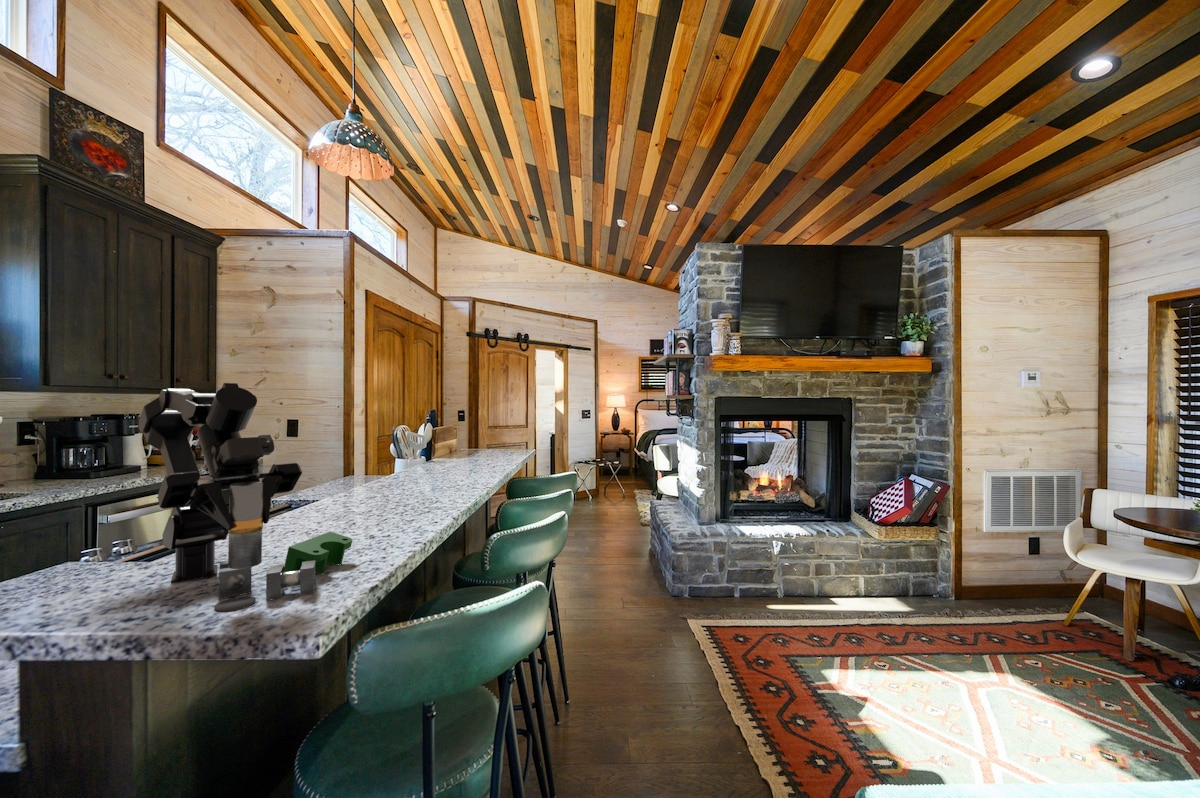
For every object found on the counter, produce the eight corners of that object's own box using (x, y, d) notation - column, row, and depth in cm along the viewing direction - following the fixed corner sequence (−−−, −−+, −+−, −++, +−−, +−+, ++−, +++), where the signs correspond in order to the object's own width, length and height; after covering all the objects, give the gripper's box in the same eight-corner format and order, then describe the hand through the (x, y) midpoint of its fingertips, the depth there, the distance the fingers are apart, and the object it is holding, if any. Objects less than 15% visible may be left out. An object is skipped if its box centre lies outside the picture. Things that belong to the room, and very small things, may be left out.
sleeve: (229, 561, 80) (231, 482, 80) (263, 557, 82) (265, 480, 82) (225, 570, 76) (226, 487, 76) (261, 566, 78) (262, 485, 78)
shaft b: (266, 600, 81) (266, 573, 81) (270, 591, 85) (270, 565, 85) (313, 593, 84) (313, 567, 84) (315, 584, 88) (315, 560, 88)
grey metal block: (219, 586, 87) (219, 561, 87) (250, 581, 90) (250, 557, 90) (218, 599, 81) (219, 572, 82) (251, 592, 84) (251, 567, 84)
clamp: (313, 598, 93) (309, 562, 89) (286, 589, 94) (281, 552, 90) (356, 556, 104) (354, 522, 100) (331, 548, 104) (328, 514, 101)
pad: (214, 603, 80) (214, 601, 80) (255, 595, 83) (255, 593, 83) (213, 614, 76) (213, 612, 76) (256, 605, 79) (256, 604, 79)
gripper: (165, 420, 74) (188, 505, 67) (298, 417, 89) (327, 486, 83) (148, 467, 78) (169, 550, 72) (278, 456, 94) (304, 524, 87)
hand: (249, 525), depth 78 cm, fingers closed on sleeve, 5 cm apart
